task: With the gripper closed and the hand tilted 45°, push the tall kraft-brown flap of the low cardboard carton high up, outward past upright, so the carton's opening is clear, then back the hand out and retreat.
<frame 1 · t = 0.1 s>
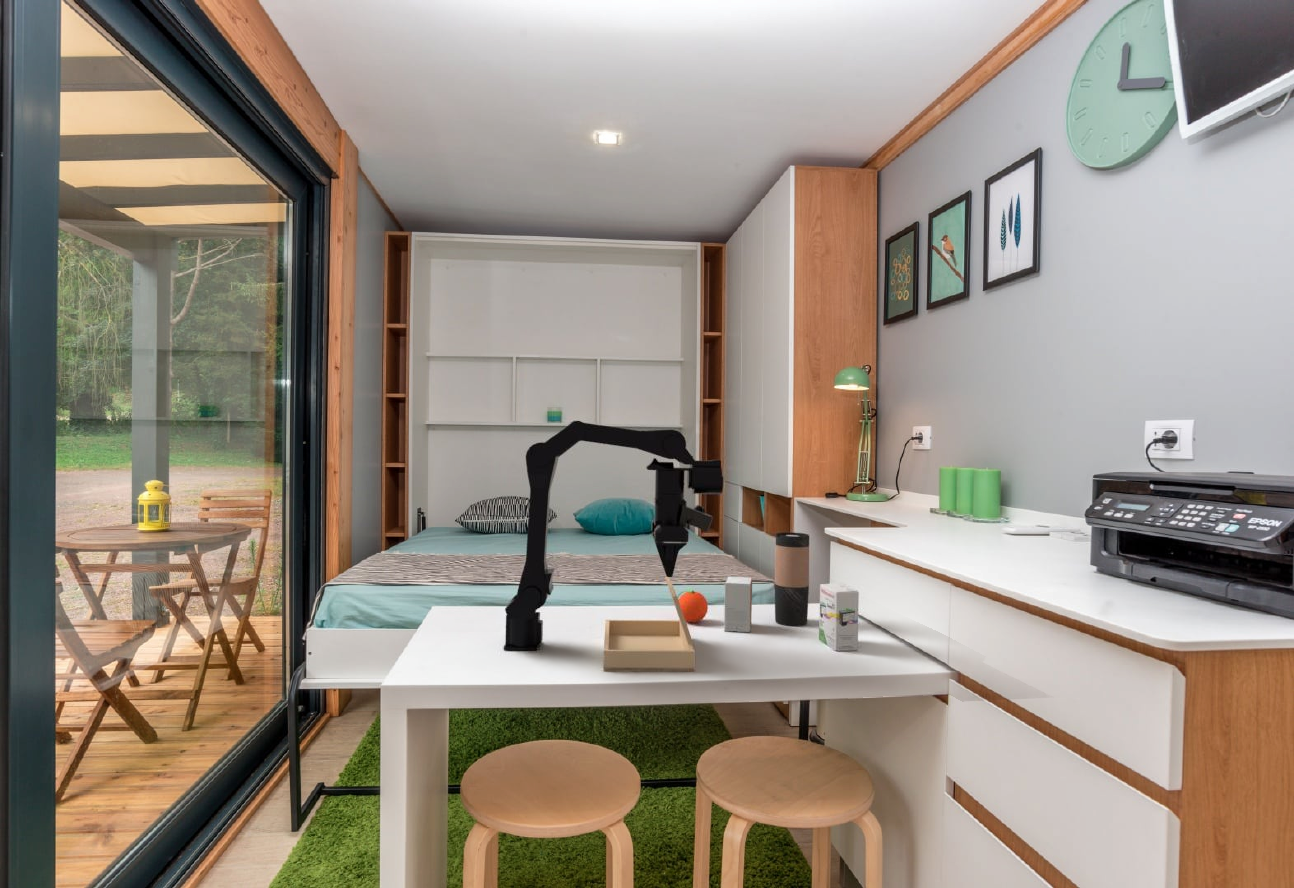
hand: (668, 572, 138), 15 cm above the table, tool pointing down, fingers open, 9 cm apart
ink box: (837, 646, 141), on the table
carton flap: (678, 607, 134), point 9 cm above the table, hinge at -20.0°
travel mug: (791, 623, 159), on the table
small box: (738, 628, 153), on the table
clementine: (690, 622, 158), on the table
carton: (646, 652, 134), on the table
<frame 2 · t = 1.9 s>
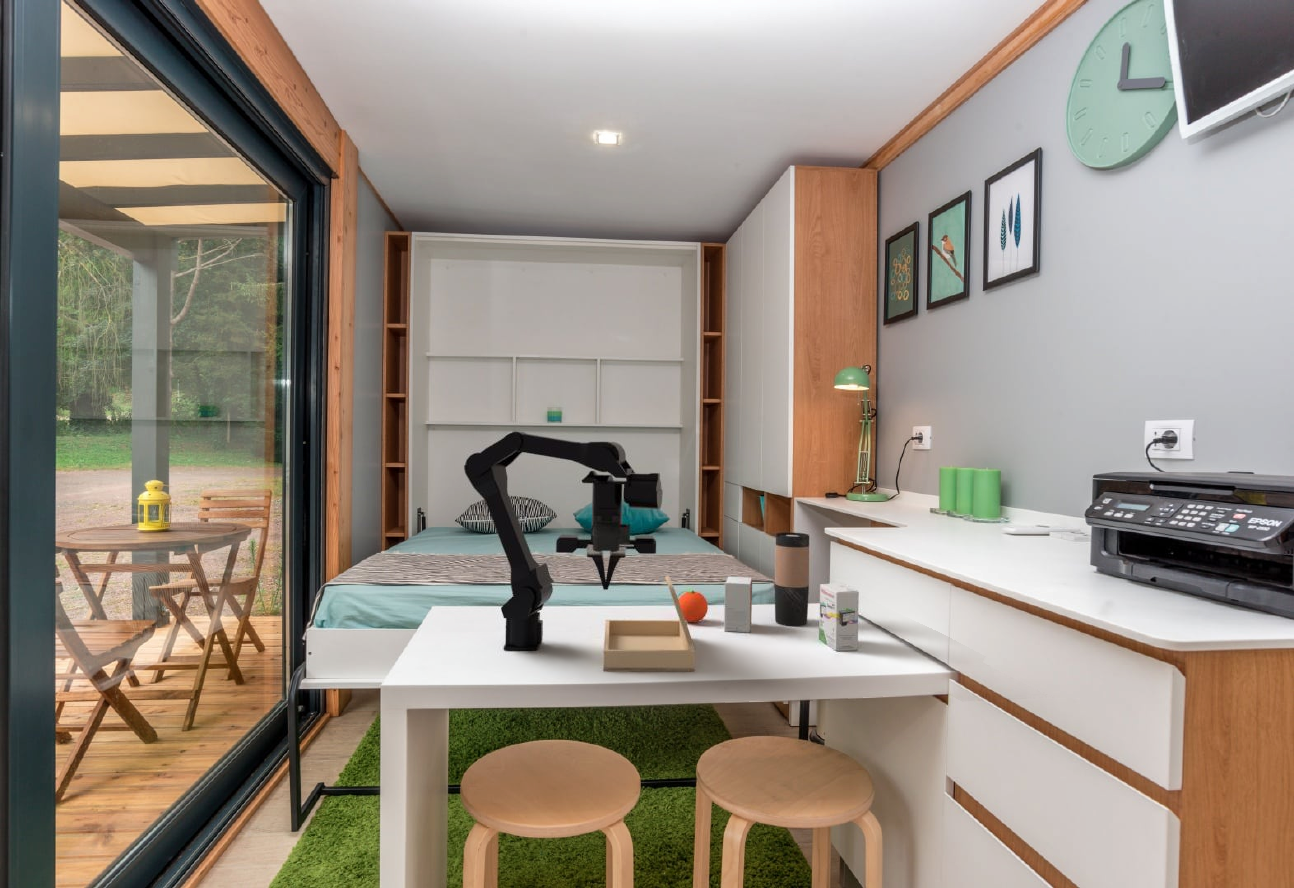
hand: (605, 589, 133), 12 cm above the table, tool pointing down, fingers closed
nothing on the table moved.
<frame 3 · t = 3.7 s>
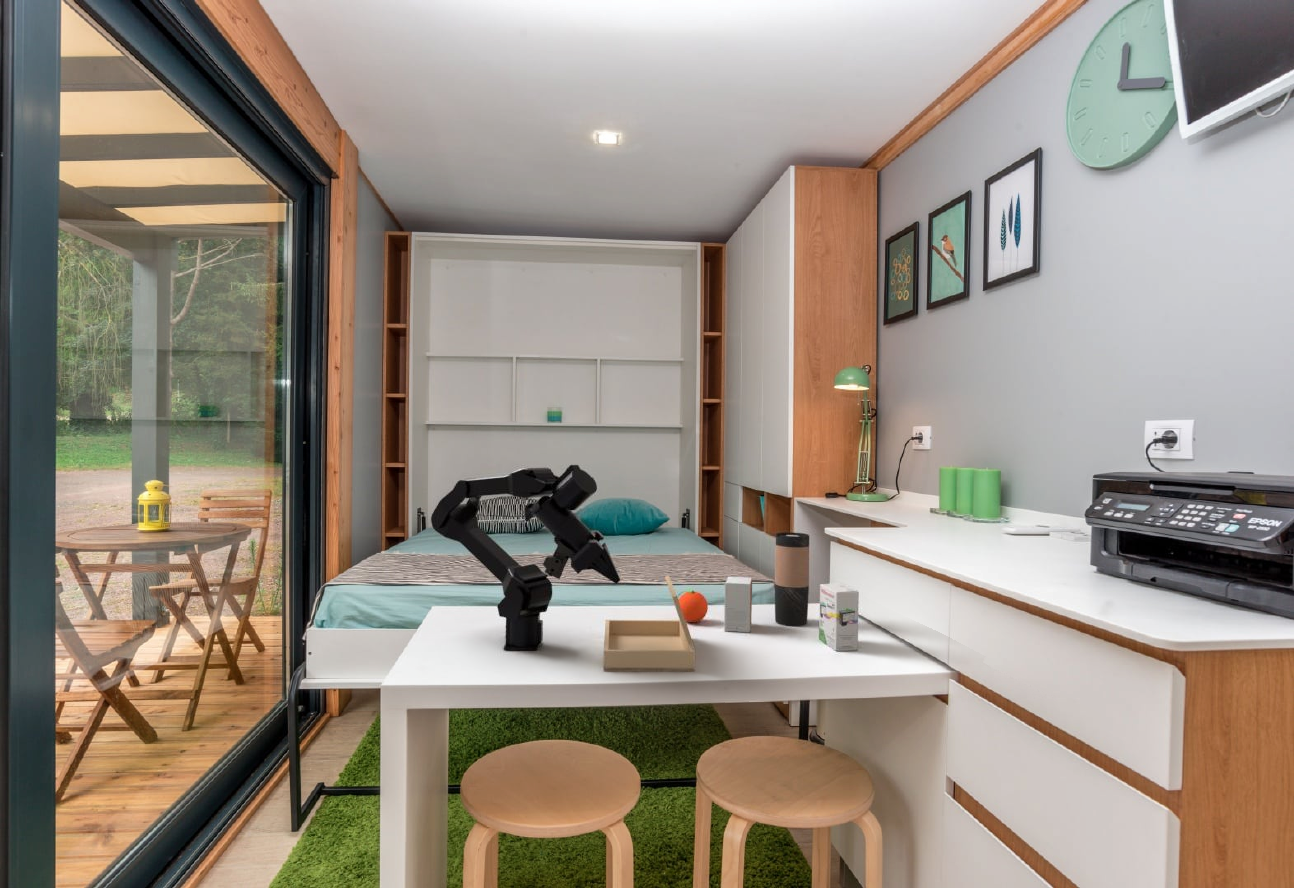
hand: (618, 581, 133), 13 cm above the table, tool tilted 45°, fingers closed
nothing on the table moved.
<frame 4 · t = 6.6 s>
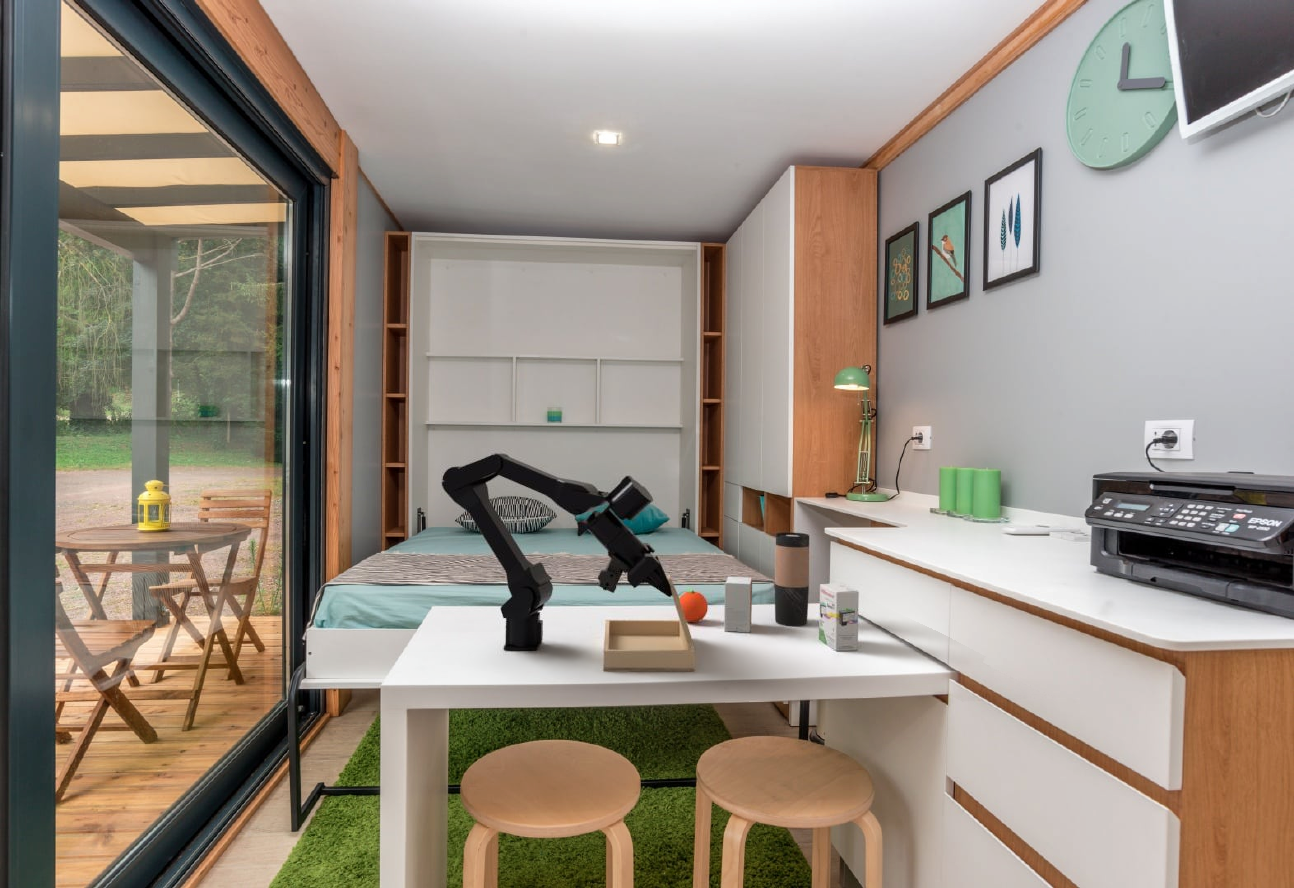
hand: (671, 595, 133), 11 cm above the table, tool tilted 45°, fingers closed, pressing on carton flap
carton flap: (678, 607, 134), point 9 cm above the table, hinge at -18.6°, touching gripper
everything else where it was.
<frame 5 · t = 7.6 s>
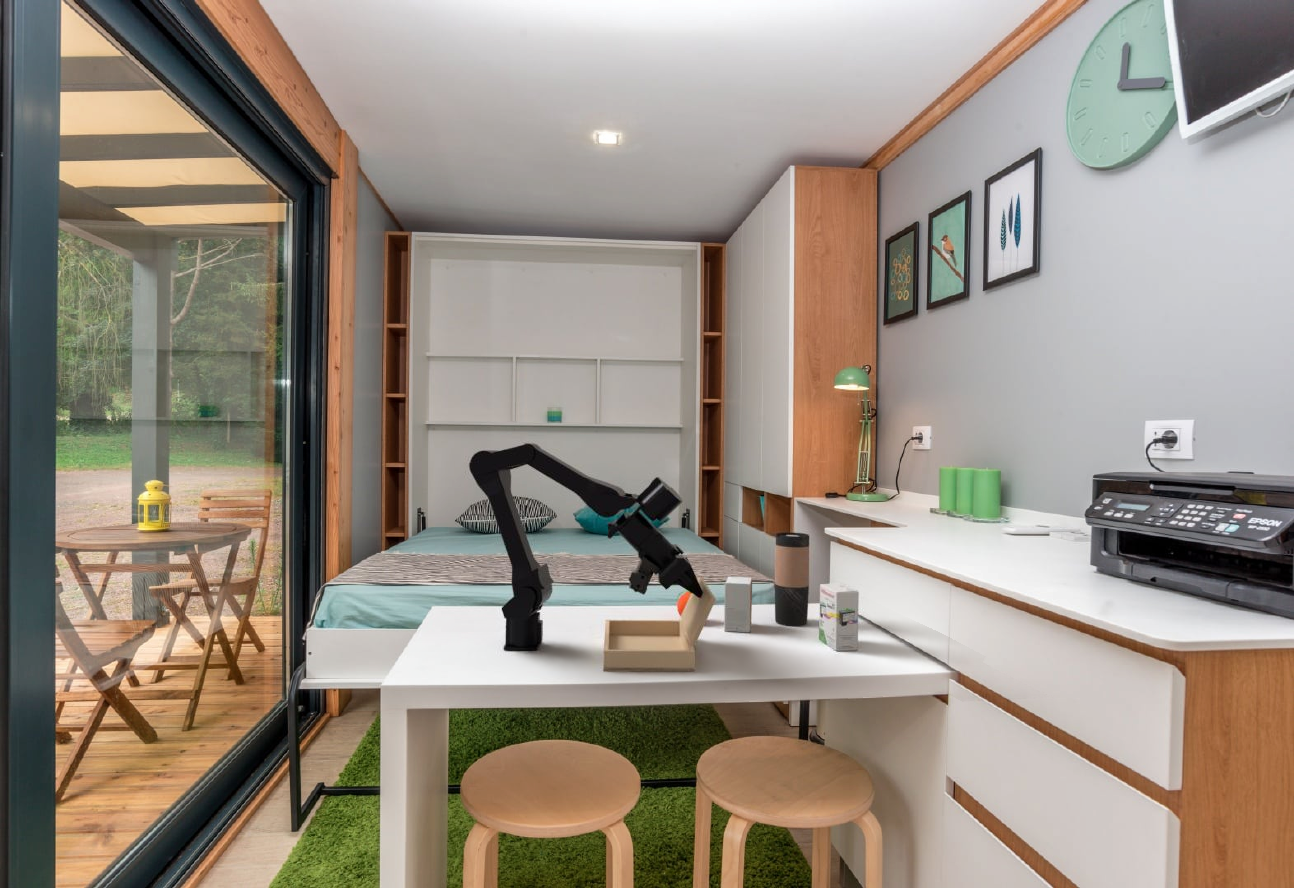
hand: (701, 596, 133), 11 cm above the table, tool tilted 45°, fingers closed, pressing on carton flap
carton flap: (697, 608, 134), point 8 cm above the table, hinge at 23.6°, touching gripper
everything else where it was.
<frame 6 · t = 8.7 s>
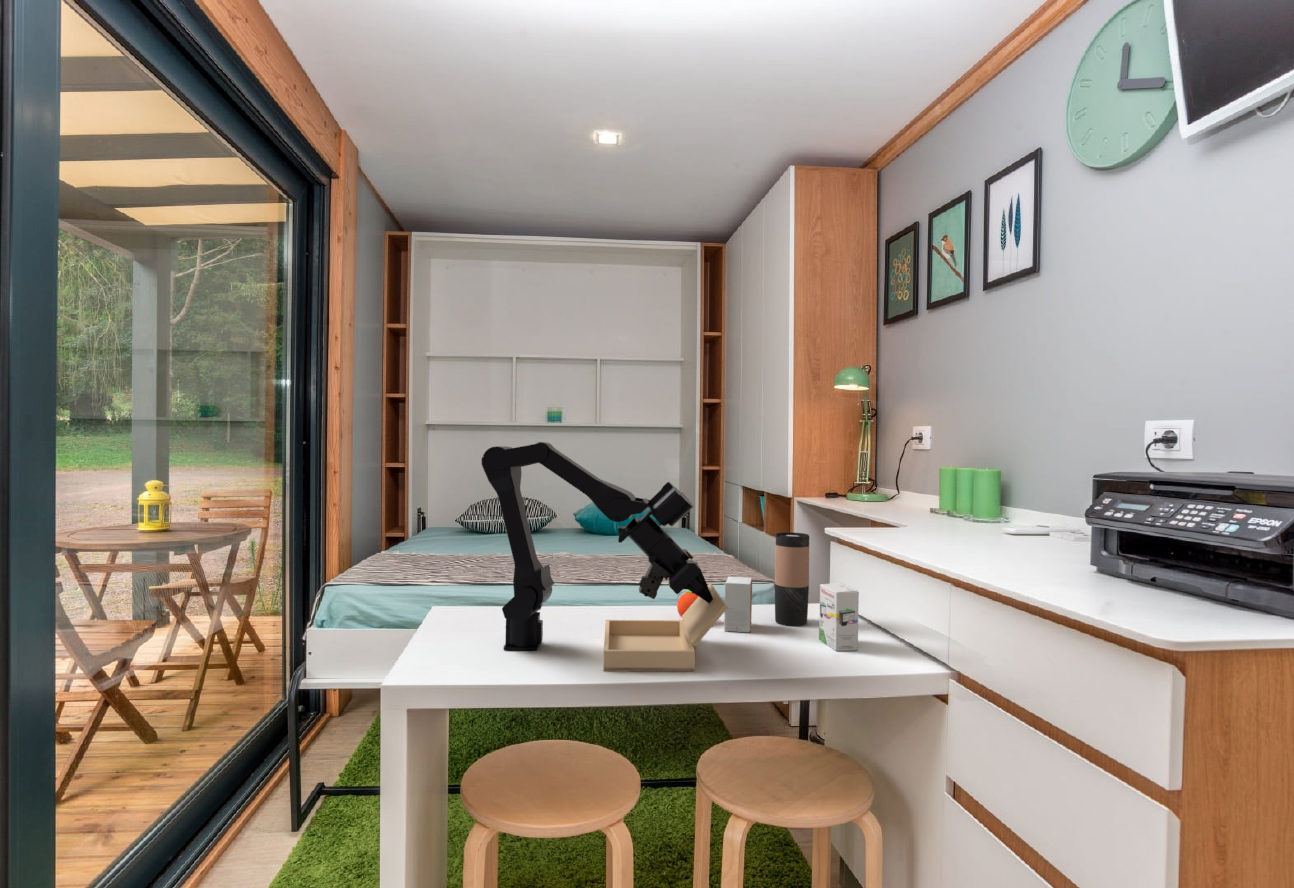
hand: (711, 601, 134), 10 cm above the table, tool tilted 45°, fingers closed, pressing on carton flap
carton flap: (703, 612, 134), point 8 cm above the table, hinge at 39.8°, touching gripper
everything else where it was.
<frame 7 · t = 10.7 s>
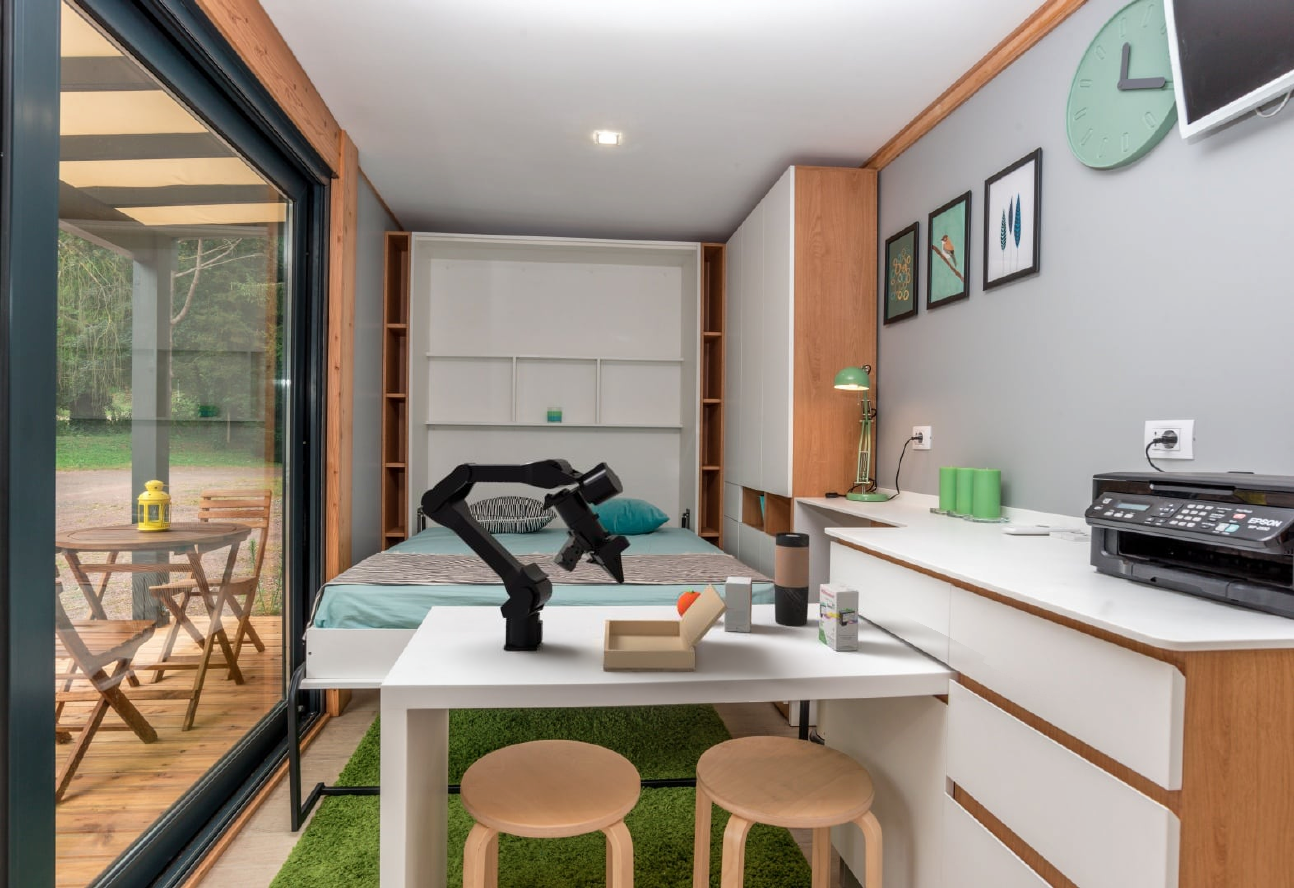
hand: (621, 582, 137), 13 cm above the table, tool tilted 35°, fingers closed
carton flap: (703, 612, 134), point 8 cm above the table, hinge at 40.2°
everything else where it was.
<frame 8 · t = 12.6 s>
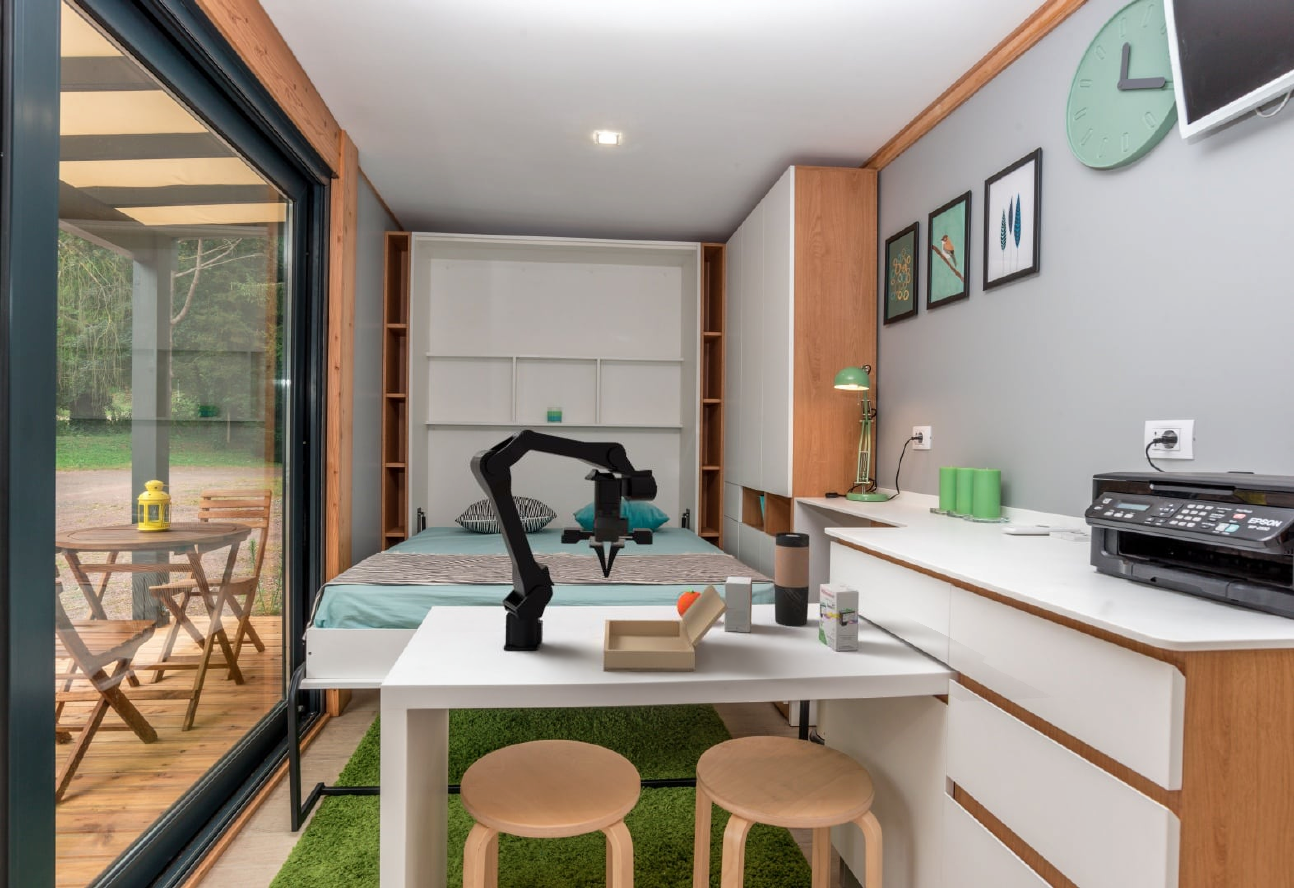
hand: (606, 577, 145), 12 cm above the table, tool pointing down, fingers closed
nothing on the table moved.
at the end: carton flap at +40° (first picture: -20°) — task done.
